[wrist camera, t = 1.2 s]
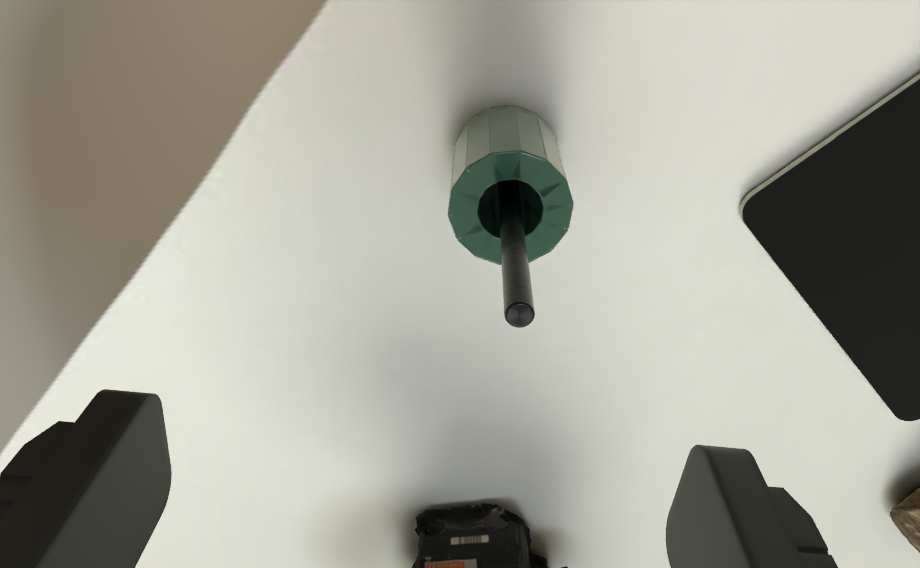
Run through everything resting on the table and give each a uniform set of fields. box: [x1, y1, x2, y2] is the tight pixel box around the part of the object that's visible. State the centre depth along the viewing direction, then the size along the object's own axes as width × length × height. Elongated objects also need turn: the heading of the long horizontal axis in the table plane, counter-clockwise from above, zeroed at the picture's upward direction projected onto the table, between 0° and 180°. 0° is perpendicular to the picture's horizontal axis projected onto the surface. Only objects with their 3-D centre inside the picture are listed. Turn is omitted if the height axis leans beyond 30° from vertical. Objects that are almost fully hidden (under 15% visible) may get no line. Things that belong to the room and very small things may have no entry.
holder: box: [448, 106, 573, 265], centre depth 34 cm, size 5×6×7 cm
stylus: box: [497, 180, 535, 327], centre depth 30 cm, size 1×1×15 cm
